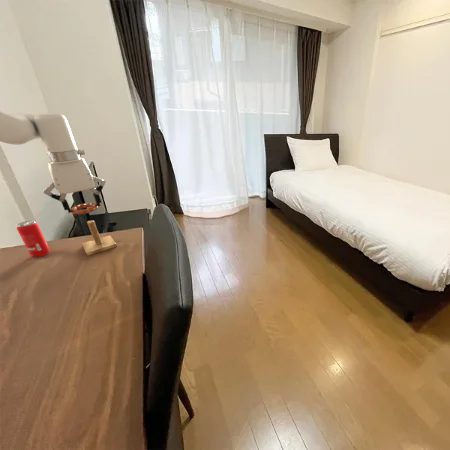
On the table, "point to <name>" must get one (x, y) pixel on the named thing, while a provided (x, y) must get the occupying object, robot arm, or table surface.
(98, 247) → the post
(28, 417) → the table surface
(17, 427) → the table surface
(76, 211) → the ring
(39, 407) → the table surface
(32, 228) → the beverage can
